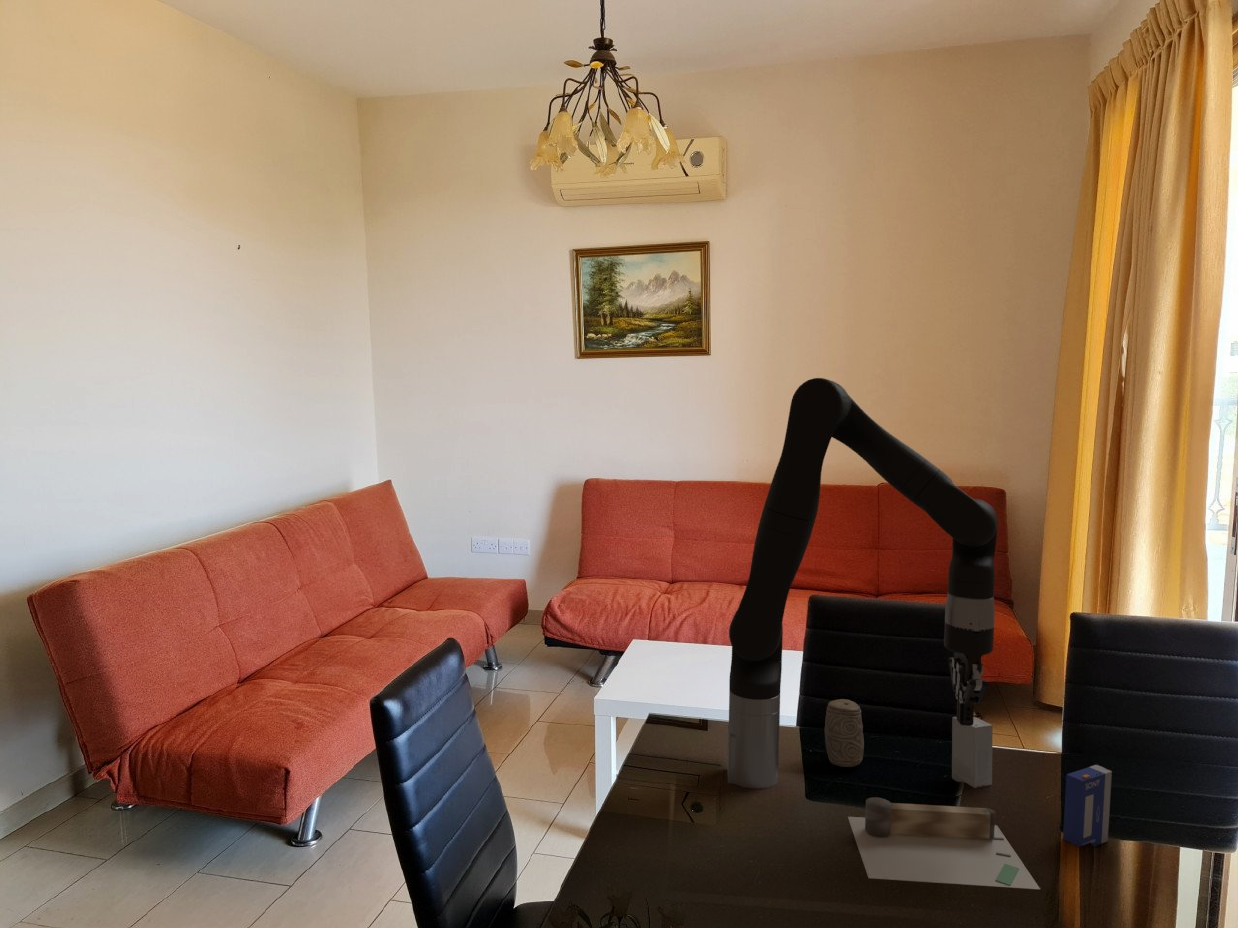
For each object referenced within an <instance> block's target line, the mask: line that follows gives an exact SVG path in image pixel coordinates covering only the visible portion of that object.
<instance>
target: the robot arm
mask: <svg viewBox="0 0 1238 928" xmlns="http://www.w3.org/2000/svg"><path fill="white" fill-rule="evenodd" d="M832 438H833V439H835V440H836V441H838V442H840V443H841V444H843V445H845V446H846V447H847V448H849V449H850V450H852V451H853V452H854V453H855V454H856V455H858V456H859V457H861V459H862V460H863V461H864V462H866V463H867V464H868V465H869V466H870V467H871V468H872V469H873V470H874V471H875V472H876V473H877V474H878V475H879V476H880V477H881V478H882V479H883V480H884V481H886V482H887V483H888V484H889V485H890V486H892V488H894V490H896V491H897V492H899V493H900V494H901V495H902V496H904V497H905V498H906V499H908V500H909V501H910V502H912V503H913V504H914V505H916V507H918V508H919V509H921V510H922V511H924V512H925V513H926V514H927V515H928V516H929V518H930V519H932V520H933V521H934V522H935V523H936V524H937V525H938V526H939V527H940V528H941V529H942V530H943V531H944V532H945V533H946V534H948V535H949V536H950V537H951V538H952V549H951V550H952V551H951V552H952V554H951V560H950V561H949V562H950V563H949V567H948V576H947V577H948V579H947V580H948V581H947V596H946V600H945V601H946V602H945V611H944V630H943V631H944V633H943V634H944V635H943V645H944V647H945V648H946V649H947V650H949V651H951V652H953V656H954V657H953V656H952V657H948V667H949V672H950V678H951V684H952V691H953V692H954V693H955V699H956V700H957V701H956V702H957V703H956V705H957V706H956V716H957V721H958V722H959V723H960V724H961V725H966V726H971V725H973V720H974V717H975V705H980V704H981V702H982V700H983V697H984V695H985V692H986V690H987V687H988V681H987V680H986V679H982V676H983V674H984V664H983V663H982V657H983V656H985V655H989V654H992V652H993V651H994V642H995V641H994V637H995V636H994V635H995V633H994V632H995V617H996V613H995V611H996V610H995V608H996V607H995V597H994V596H995V581H996V580H995V578H996V577H995V556H996V555H995V554H996V548H997V547H996V546H997V537H998V527H999V518H998V515H997V512H996V510H995V509H994V508H993V506H992V505H990V504H989V503H988V502H986V501H985V500H982V499H977V498H976V499H974V498H973V497H971V496H970V495H969V494H967V493H966V492H965V491H964V490H962V489H961V488H959V487H958V486H957V485H955V483H954V482H953V481H952V478H950V477H949V476H948V475H947V474H946V473H945V472H944V471H943V470H941V469H940V468H939V467H937V466H936V465H934V464H933V463H932V462H931V461H929V460H928V459H926V457H924V456H922V455H921V454H920V453H918V452H917V451H916V450H915V449H913V448H911V447H910V446H909V445H907V444H905V443H904V442H902V441H901V440H900V439H899V438H898V437H896V436H894V435H893V434H892V433H890V432H889V431H887V430H886V429H884V428H883V427H882V426H881V425H880V424H879V423H877V422H876V421H875V420H874V419H872V418H871V417H870V416H869V415H868V414H867V413H866V412H865V411H864V410H863V409H862V408H861V406H860V405H858V404H857V403H856V402H855V400H854V399H853V398H852V397H851V396H850V395H849V394H848V392H847V390H846V389H845V388H844V387H843V386H842V385H840V383H838V382H835V381H833V380H831V379H827V378H824V377H823V378H821V377H813V378H811V379H807V380H806V381H804V382H803V383H802V384H801V385H799V386H798V388H797V389H796V390H795V392H794V394H793V396H792V399H791V401H790V407H789V413H788V418H787V425H786V431H785V437H784V442H783V446H782V451H781V454H780V457H779V461H778V463H777V466H776V468H775V471H774V474H773V477H772V480H771V484H770V486H769V490H768V493H767V495H766V497H765V498H766V499H765V502H764V504H763V505H764V506H763V508H762V512H761V516H760V518H759V522H758V526H757V531H756V535H755V541H754V547H753V551H752V557H751V558H752V559H751V563H750V564H751V565H750V571H749V576H748V581H747V584H746V587H745V589H744V593H743V595H742V597H741V600H740V603H739V605H738V607H737V610H736V611H735V613H734V615H733V617H732V620H731V622H730V624H729V629H728V635H729V636H728V637H729V641H730V644H731V645H730V646H731V660H730V661H731V663H730V671H729V680H728V681H729V682H728V683H729V690H728V691H729V692H728V693H729V697H728V698H729V699H728V725H727V757H726V758H727V759H726V761H727V763H726V764H727V765H726V767H727V768H726V770H727V771H726V772H727V773H726V774H727V783H728V784H733V785H737V786H740V787H742V788H748V789H767V788H770V787H773V786H775V785H776V784H777V783H778V782H779V758H780V721H781V720H780V716H781V711H780V710H781V685H782V683H781V682H782V671H783V669H782V667H783V666H782V665H783V663H782V661H783V660H782V659H783V640H784V639H783V637H784V635H783V634H784V631H783V629H784V628H783V619H784V614H785V610H786V606H787V605H786V604H787V601H788V596H789V593H790V590H791V588H792V584H793V582H794V580H795V579H796V576H797V573H798V571H799V568H800V567H801V564H802V561H803V559H804V556H805V554H806V551H807V548H808V545H809V542H810V539H811V537H812V534H813V529H814V527H815V523H816V519H817V514H818V512H819V505H820V496H821V495H820V494H821V483H822V471H823V470H822V469H823V466H824V465H823V464H824V460H825V457H826V453H827V451H828V447H829V445H830V443H831V439H832Z"/></svg>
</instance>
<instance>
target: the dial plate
mask: <svg viewBox="0 0 1238 928" xmlns="http://www.w3.org/2000/svg"><path fill="white" fill-rule="evenodd" d="M847 818H848V822H849V825H850V828H851V830H852V833H853V836H854V840H855V843H856V846H857V848H858V852H859V854H860V857H861V860H862V863H863V866H864V869H865V872H866V875H867V877H868V879H873V880H890V881H891V880H892V881H904V882H918V883H919V882H920V883H935V884H937V883H938V884H947V885H949V884H951V885H967V886H982V887H996V888H997V887H999V888H1010V889H1011V888H1012V889H1025V890H1039V891H1040V890H1041V887H1040V886H1039V885H1038V883H1037V882H1036V881H1035V879H1034V878H1033V876H1032V875H1031V873H1030V872H1029V870H1028V869H1027V867H1026V866H1025V865H1024V862H1023V861H1022V860H1021V858H1020V857H1019V855H1018V854H1017V852H1016V851H1015V850H1014V848H1013V847H1012V845H1011V844H1010V842H1009V841H1008V840H1007V838H1006V836H1005V835H1004V834H1003V832H1002V831H1001V829H1000V828H999V826H998V825H996V824H995V829H994V838H993V839H984V838H968V837H951V836H934V835H918V834H901V833H891V834H890V835H888V836H885V837H879V836H874V835H871V834H869V833H868V832H867V831H866V830H865V817H864V816H863V817H862V816H861V817H859V816H847Z"/></svg>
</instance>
